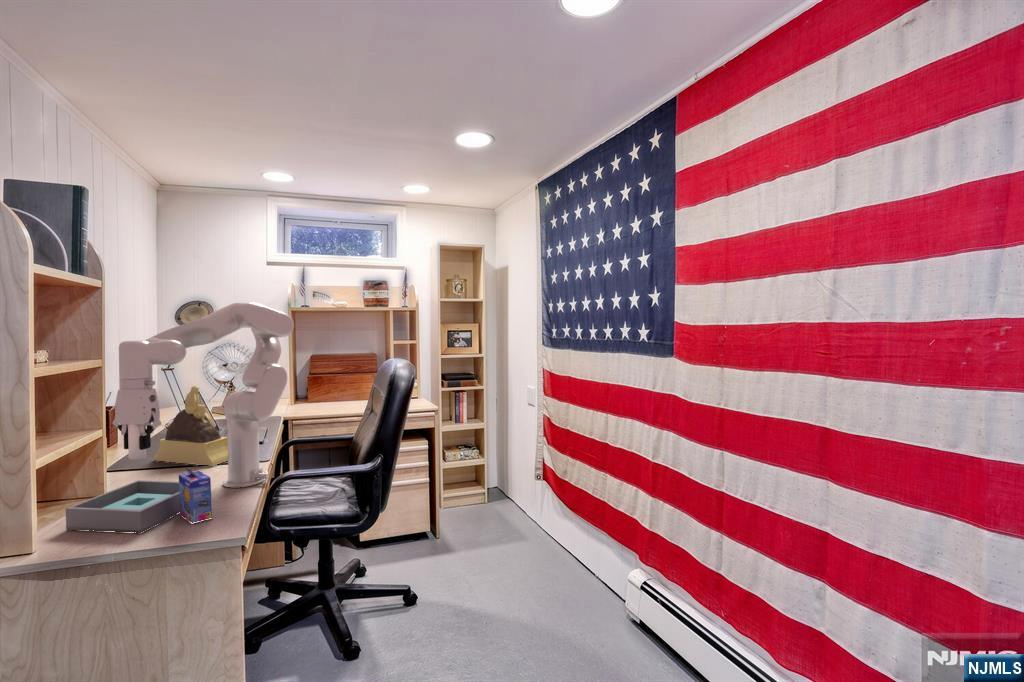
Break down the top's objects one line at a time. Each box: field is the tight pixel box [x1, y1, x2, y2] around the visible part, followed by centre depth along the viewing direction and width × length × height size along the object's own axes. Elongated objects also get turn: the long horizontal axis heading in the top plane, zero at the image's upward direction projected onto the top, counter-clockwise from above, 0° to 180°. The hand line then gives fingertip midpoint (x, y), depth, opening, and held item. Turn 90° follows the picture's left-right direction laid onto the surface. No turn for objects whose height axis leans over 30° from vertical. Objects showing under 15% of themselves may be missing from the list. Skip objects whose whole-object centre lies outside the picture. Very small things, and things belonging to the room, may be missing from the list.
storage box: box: [65, 479, 180, 533], centre depth 141 cm, size 21×23×6 cm
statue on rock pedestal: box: [153, 385, 228, 467], centre depth 196 cm, size 28×13×30 cm, turn 76°
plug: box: [127, 424, 147, 460], centre depth 140 cm, size 4×4×10 cm
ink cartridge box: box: [178, 467, 214, 523], centre depth 140 cm, size 10×6×14 cm, turn 51°
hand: (137, 447), depth 140 cm, fingers closed on plug, 4 cm apart
